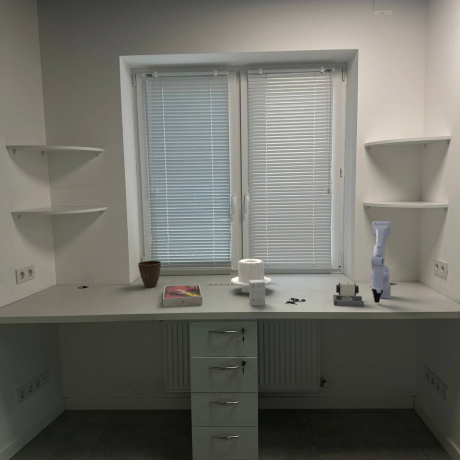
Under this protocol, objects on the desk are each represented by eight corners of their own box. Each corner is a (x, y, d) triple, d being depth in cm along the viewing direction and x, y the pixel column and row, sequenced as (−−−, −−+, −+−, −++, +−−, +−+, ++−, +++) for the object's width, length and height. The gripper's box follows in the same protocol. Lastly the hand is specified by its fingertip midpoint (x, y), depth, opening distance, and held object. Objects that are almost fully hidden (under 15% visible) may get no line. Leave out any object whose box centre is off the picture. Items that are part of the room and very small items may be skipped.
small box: (263, 301, 218) (263, 279, 216) (265, 305, 211) (265, 282, 210) (249, 302, 217) (248, 279, 215) (250, 305, 210) (250, 282, 209)
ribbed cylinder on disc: (226, 294, 234) (225, 263, 232) (237, 284, 258) (237, 256, 255) (266, 297, 226) (266, 265, 224) (274, 286, 250) (274, 258, 248)
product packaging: (199, 292, 242) (199, 284, 242) (202, 305, 215) (202, 296, 214) (164, 293, 240) (164, 285, 239) (163, 307, 212) (162, 298, 211)
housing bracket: (361, 300, 218) (361, 296, 217) (363, 306, 206) (364, 302, 206) (333, 298, 221) (333, 294, 221) (333, 305, 209) (334, 300, 209)
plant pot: (135, 288, 250) (134, 264, 249) (144, 283, 265) (143, 260, 263) (157, 289, 248) (156, 265, 246) (165, 283, 262) (164, 260, 261)
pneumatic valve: (358, 304, 210) (358, 283, 209) (336, 303, 212) (336, 282, 211) (357, 301, 215) (357, 280, 214) (335, 300, 218) (335, 279, 216)
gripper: (368, 274, 216) (367, 298, 218) (371, 280, 202) (370, 305, 204) (381, 275, 215) (380, 298, 216) (385, 281, 201) (384, 306, 202)
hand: (376, 302), depth 210 cm, fingers closed
